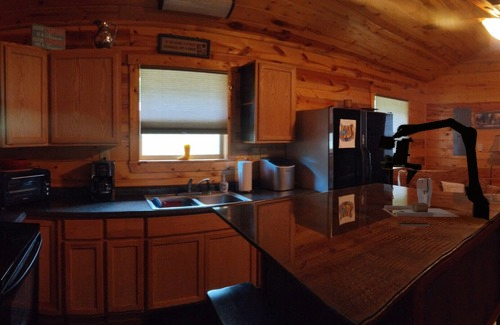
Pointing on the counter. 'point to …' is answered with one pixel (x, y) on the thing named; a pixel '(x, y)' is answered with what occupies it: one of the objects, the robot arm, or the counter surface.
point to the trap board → (409, 212)
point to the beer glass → (424, 190)
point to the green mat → (413, 224)
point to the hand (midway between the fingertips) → (398, 183)
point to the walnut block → (419, 207)
